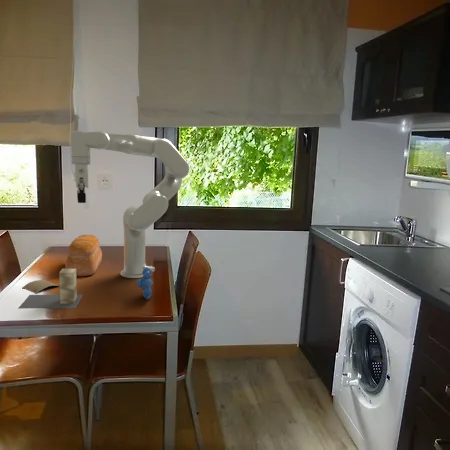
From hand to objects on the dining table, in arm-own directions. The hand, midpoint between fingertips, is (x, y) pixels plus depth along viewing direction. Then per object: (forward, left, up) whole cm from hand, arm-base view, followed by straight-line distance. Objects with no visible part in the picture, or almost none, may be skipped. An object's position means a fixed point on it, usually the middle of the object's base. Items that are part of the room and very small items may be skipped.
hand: (81, 201), depth 187 cm
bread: (+2, -15, -35) cm, 38 cm away
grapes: (-28, +24, -35) cm, 51 cm away
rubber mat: (+6, +29, -34) cm, 45 cm away
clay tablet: (+14, +13, -35) cm, 40 cm away
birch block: (0, +29, -34) cm, 45 cm away
